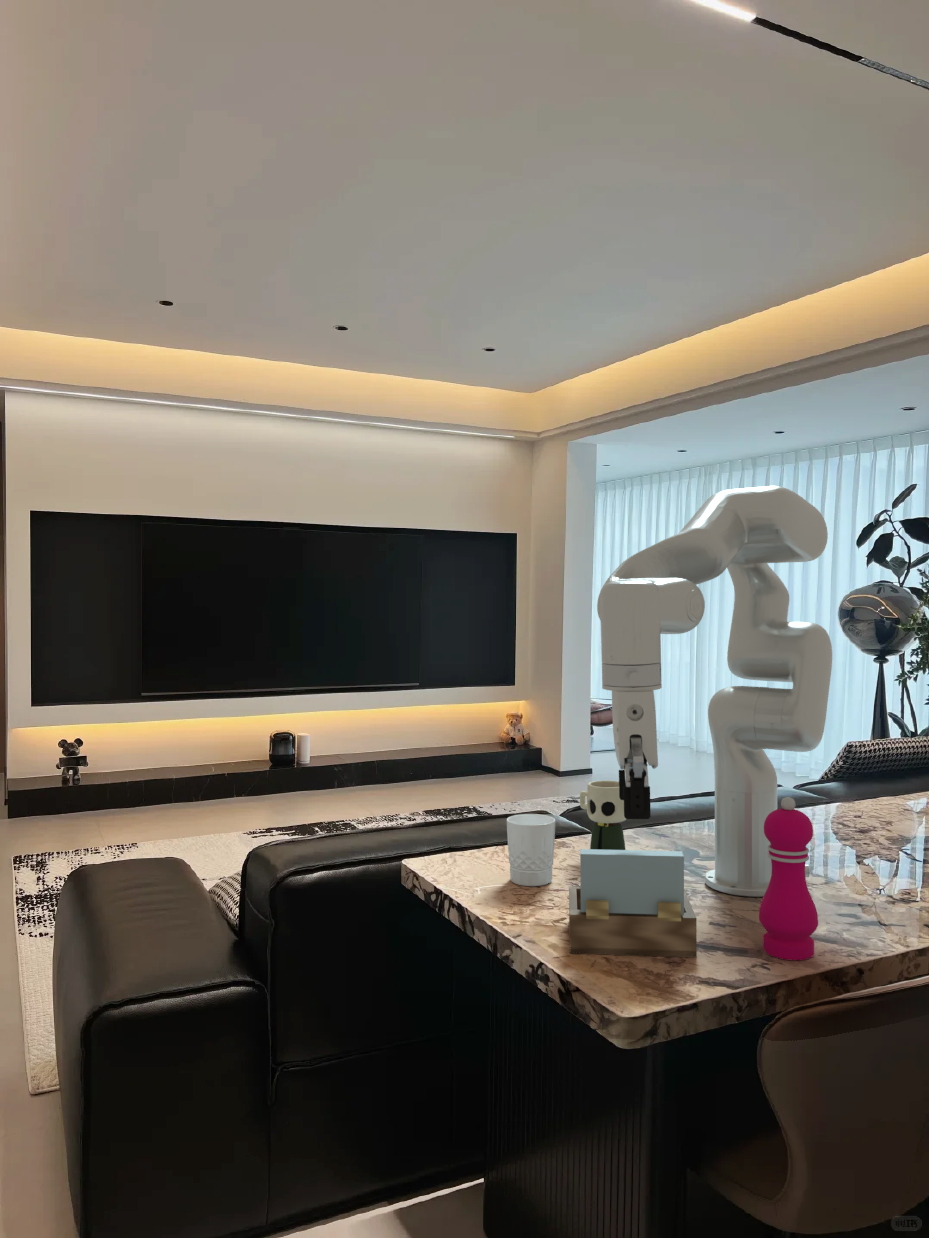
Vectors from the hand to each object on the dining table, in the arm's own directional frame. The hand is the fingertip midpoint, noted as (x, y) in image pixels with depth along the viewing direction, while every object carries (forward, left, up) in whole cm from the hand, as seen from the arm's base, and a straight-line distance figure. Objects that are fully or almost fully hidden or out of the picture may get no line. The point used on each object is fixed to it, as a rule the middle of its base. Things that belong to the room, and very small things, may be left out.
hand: (634, 808), depth 120 cm
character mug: (+1, -44, -19) cm, 48 cm away
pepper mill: (-20, -1, -19) cm, 27 cm away
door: (0, +1, -13) cm, 13 cm away
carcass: (0, -4, -19) cm, 19 cm away
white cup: (+14, -29, -19) cm, 38 cm away
